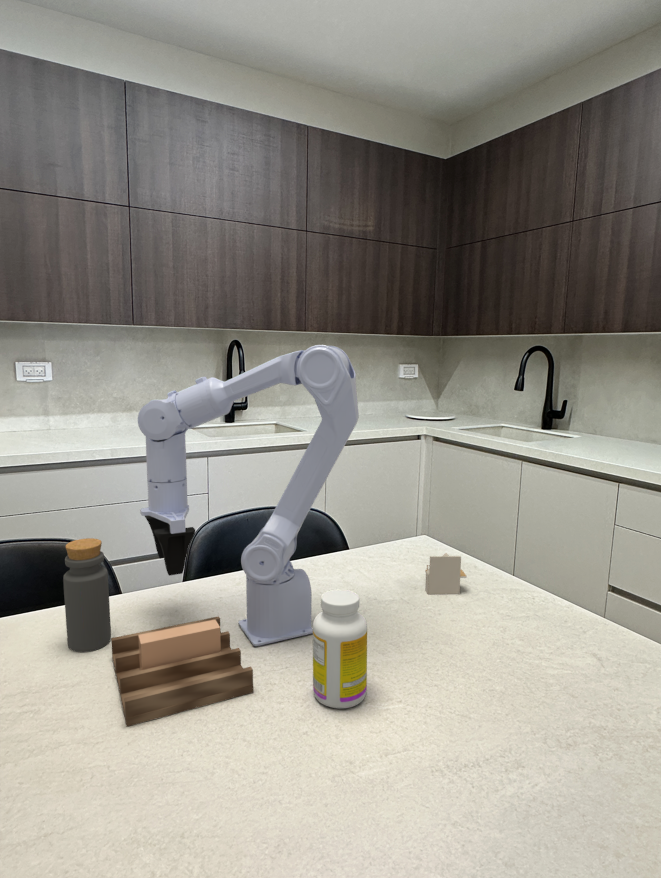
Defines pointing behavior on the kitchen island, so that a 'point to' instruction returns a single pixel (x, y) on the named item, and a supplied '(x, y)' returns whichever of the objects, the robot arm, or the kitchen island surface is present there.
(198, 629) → the peach rectangular block
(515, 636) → the kitchen island surface
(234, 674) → the rack
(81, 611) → the bottle
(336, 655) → the supplement bottle
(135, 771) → the kitchen island surface
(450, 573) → the architectural model
